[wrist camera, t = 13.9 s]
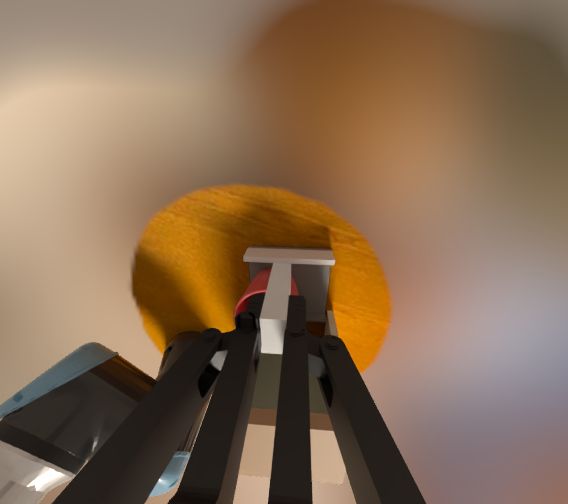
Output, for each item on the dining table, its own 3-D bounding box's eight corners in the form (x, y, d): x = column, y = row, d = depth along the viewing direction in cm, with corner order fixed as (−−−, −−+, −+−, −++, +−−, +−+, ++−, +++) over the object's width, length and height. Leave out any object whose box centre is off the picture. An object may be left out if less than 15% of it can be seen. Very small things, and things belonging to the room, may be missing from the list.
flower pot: (312, 269, 39) (315, 303, 30) (292, 313, 44) (290, 354, 35) (255, 250, 38) (242, 281, 30) (241, 298, 43) (226, 336, 34)
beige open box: (249, 353, 51) (219, 472, 32) (244, 305, 45) (205, 418, 26) (326, 358, 50) (342, 484, 31) (333, 310, 44) (357, 430, 25)
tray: (253, 309, 45) (248, 325, 41) (248, 245, 39) (243, 256, 35) (324, 313, 44) (326, 329, 40) (331, 248, 38) (335, 260, 34)
